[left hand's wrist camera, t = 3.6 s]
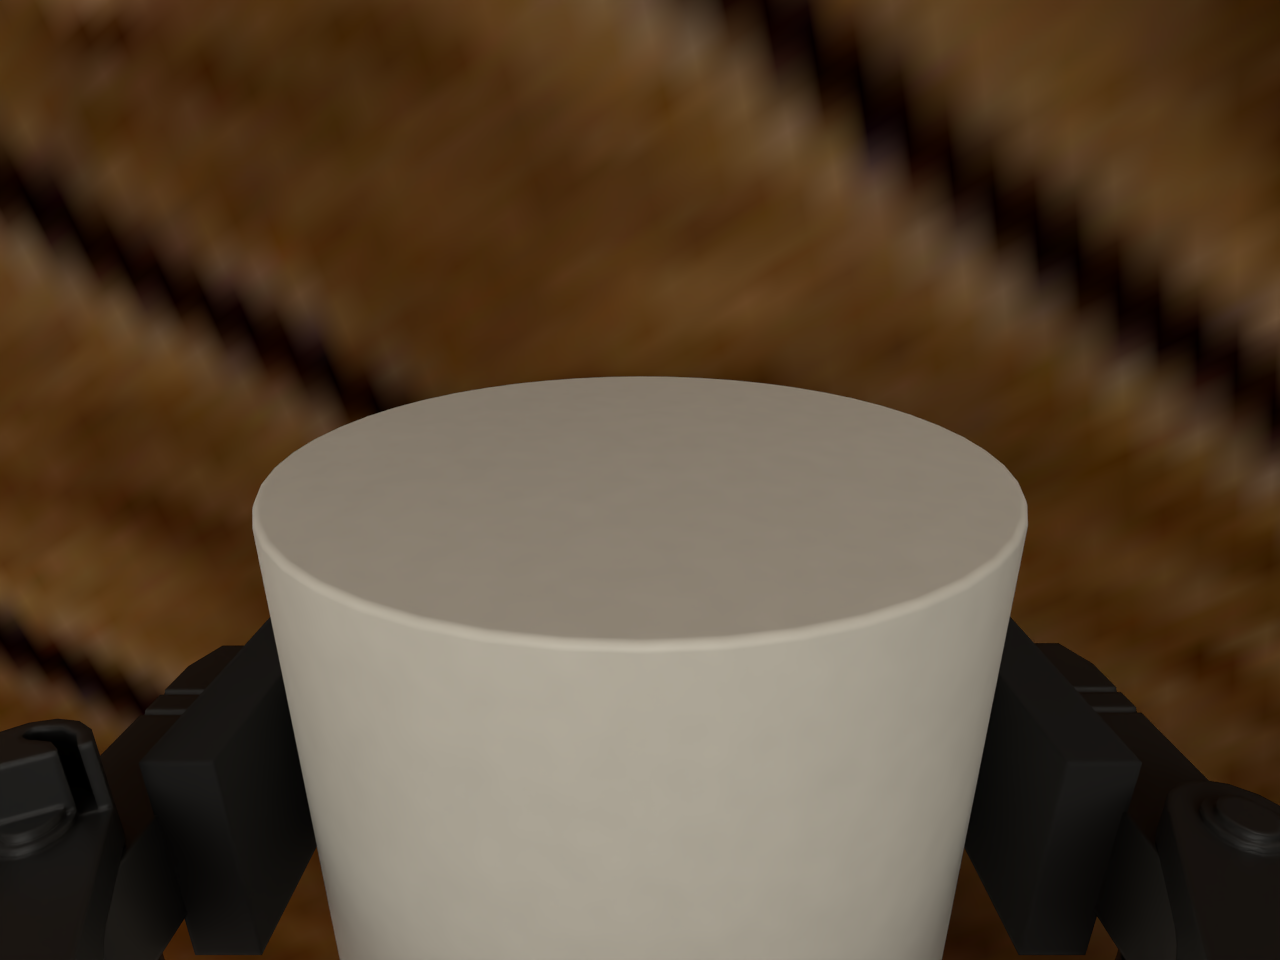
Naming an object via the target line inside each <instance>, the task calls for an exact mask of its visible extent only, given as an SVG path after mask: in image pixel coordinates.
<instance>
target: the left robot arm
mask: <svg viewBox="0 0 1280 960" xmlns="http://www.w3.org/2000/svg"><path fill="white" fill-rule="evenodd" d="M316 847H317V844H316V839H315V834H314V829H313V824H312V819H311V814H310V809H309V804H308V799H307V794H306V789H305V785H304V780H303V775H302V770H301V765H300V760H299V755H298V750H297V745H296V740H295V735H294V730H293V725H292V720H291V715H290V711H289V706H288V701H287V696H286V691H285V686H284V681H283V676H282V671H281V666H280V661H279V656H278V651H277V646H276V641H275V637H274V632H273V627H272V622H271V617H270V618H269V619H268V620H267V621H266V622H265V623H264V625H263V626H262V627H261V628H260V629H259V630H258V631H257V632H256V633H255V635H254V636H253V637H252V638H251V639H250V640H249V641H248V642H247V643H246V644H245V646H221V647H220V648H218V649H216V650H215V651H213V652H211V653H210V654H208V655H206V656H205V657H203V658H201V659H200V660H198V661H196V662H195V663H193V664H191V665H190V666H188V667H187V668H186V669H185V670H184V671H183V672H182V673H181V674H180V675H179V676H178V677H177V678H176V679H175V680H174V681H173V682H172V684H171V685H170V686H169V687H168V688H167V689H166V690H165V694H164V695H160V696H159V697H158V698H157V699H156V700H155V701H154V702H153V703H152V704H151V705H150V706H149V707H148V708H147V709H146V710H145V715H140V716H139V717H138V718H137V719H136V720H135V721H134V722H133V723H132V724H131V725H130V726H129V727H128V728H127V729H126V730H125V731H124V732H123V733H122V734H121V735H120V736H119V737H118V738H117V739H116V740H115V741H114V742H113V743H112V744H111V745H110V746H109V747H108V748H107V749H106V750H105V751H104V753H103V754H102V755H101V756H100V754H99V751H98V748H97V745H96V742H95V739H94V736H93V732H92V729H90V728H89V727H87V726H86V725H84V724H83V723H81V722H80V721H74V720H65V719H53V720H46V721H38V722H31V723H27V724H24V725H21V726H17V727H14V728H11V729H8V730H5V731H1V732H0V960H165V959H164V956H163V951H164V949H165V948H166V946H167V945H168V943H169V942H170V940H171V938H172V937H173V935H174V934H175V932H176V931H177V929H178V928H179V926H180V924H181V923H182V921H183V920H184V918H185V921H186V925H187V928H188V932H189V935H190V938H191V942H192V945H193V949H194V952H195V955H262V953H263V951H264V949H265V947H266V945H267V943H268V941H269V939H270V937H271V936H272V934H273V932H274V930H275V928H276V926H277V924H278V922H279V920H280V918H281V916H282V914H283V912H284V910H285V908H286V906H287V904H288V902H289V900H290V898H291V896H292V894H293V892H294V890H295V888H296V886H297V884H298V882H299V880H300V878H301V876H302V874H303V872H304V870H305V868H306V866H307V864H308V862H309V860H310V858H311V857H312V855H313V853H314V851H315V849H316ZM964 848H965V850H966V852H967V854H968V856H969V857H970V859H971V861H972V863H973V865H974V867H975V869H976V871H977V873H978V875H979V877H980V879H981V881H982V883H983V885H984V887H985V889H986V891H987V893H988V895H989V897H990V899H991V901H992V903H993V905H994V907H995V909H996V911H997V913H998V915H999V917H1000V919H1001V921H1002V923H1003V925H1004V927H1005V929H1006V931H1007V933H1008V934H1009V936H1010V938H1011V940H1012V942H1013V944H1014V946H1015V948H1016V950H1017V952H1018V954H1019V955H1085V954H1086V951H1087V947H1088V944H1089V940H1090V937H1091V934H1092V930H1093V927H1094V924H1095V920H1096V917H1098V918H1099V920H1100V921H1101V923H1102V924H1103V926H1104V927H1105V929H1106V931H1107V932H1108V934H1109V935H1110V937H1111V938H1112V940H1113V941H1114V943H1115V944H1116V946H1117V948H1118V949H1119V950H1118V953H1117V956H1116V959H1115V960H1280V806H1279V805H1277V804H1275V803H1273V802H1271V801H1270V800H1268V799H1266V798H1264V797H1262V796H1260V795H1258V794H1256V793H1253V792H1250V791H1247V790H1244V789H1241V788H1238V787H1236V786H1233V785H1230V784H1225V783H1219V782H1212V781H1209V780H1208V779H1207V778H1206V777H1205V776H1204V775H1203V774H1202V773H1201V772H1200V771H1199V770H1198V769H1197V768H1196V767H1195V766H1194V765H1193V764H1192V763H1191V762H1190V761H1189V760H1188V759H1187V758H1186V757H1185V756H1184V755H1183V754H1182V753H1181V752H1180V751H1179V750H1178V749H1177V748H1176V747H1175V746H1174V745H1173V744H1172V743H1171V742H1170V741H1169V740H1168V739H1167V738H1166V737H1165V736H1164V735H1163V734H1162V733H1161V732H1160V731H1159V730H1158V729H1157V728H1156V727H1155V726H1154V725H1153V724H1152V723H1151V722H1150V721H1149V720H1148V719H1147V718H1146V717H1145V716H1144V715H1143V714H1142V713H1137V711H1136V707H1135V706H1134V705H1133V704H1132V703H1131V702H1130V701H1129V700H1128V699H1127V698H1126V697H1125V696H1124V695H1123V694H1122V693H1121V692H1117V691H1116V687H1115V686H1114V685H1113V684H1112V683H1111V682H1110V681H1109V680H1108V679H1107V678H1106V677H1105V676H1104V675H1103V674H1102V673H1101V672H1100V671H1099V670H1098V669H1097V668H1096V667H1095V666H1094V665H1093V664H1092V663H1091V662H1089V661H1087V660H1086V659H1084V658H1082V657H1081V656H1079V655H1077V654H1075V653H1074V652H1072V651H1070V650H1069V649H1067V648H1065V647H1064V646H1062V645H1060V644H1059V643H1033V642H1032V641H1031V639H1030V638H1029V637H1028V636H1027V635H1026V634H1025V633H1024V632H1023V631H1022V629H1021V628H1020V627H1019V626H1018V625H1017V624H1016V623H1015V622H1014V621H1013V620H1012V618H1011V617H1010V618H1009V623H1008V628H1007V633H1006V638H1005V643H1004V648H1003V653H1002V658H1001V663H1000V668H999V673H998V678H997V683H996V689H995V694H994V699H993V704H992V709H991V714H990V719H989V724H988V729H987V734H986V739H985V744H984V749H983V754H982V759H981V764H980V769H979V774H978V779H977V784H976V789H975V794H974V799H973V805H972V810H971V815H970V820H969V825H968V830H967V835H966V840H965V845H964Z"/></svg>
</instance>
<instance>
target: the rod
mask: <svg viewBox="0 0 1280 960" xmlns="http://www.w3.org/2000/svg"><path fill="white" fill-rule="evenodd" d="M252 513H253V533H254V538H255V543H256V548H257V553H258V558H259V563H260V567H261V572H262V577H263V582H264V587H265V592H266V597H267V602H268V607H269V612H270V617H271V622H272V627H273V632H274V637H275V641H276V646H277V651H278V656H279V661H280V666H281V671H282V676H283V681H284V686H285V691H286V696H287V701H288V706H289V711H290V715H291V720H292V725H293V730H294V735H295V740H296V745H297V750H298V755H299V760H300V765H301V770H302V775H303V780H304V785H305V789H306V794H307V799H308V804H309V809H310V814H311V819H312V824H313V829H314V834H315V839H316V844H317V849H318V854H319V859H320V863H321V868H322V873H323V878H324V883H325V888H326V893H327V898H328V903H329V908H330V913H331V918H332V923H333V928H334V933H335V937H336V942H337V947H338V952H339V957H340V960H942V956H943V951H944V946H945V941H946V936H947V931H948V926H949V921H950V915H951V910H952V905H953V900H954V895H955V890H956V885H957V880H958V875H959V870H960V865H961V860H962V855H963V850H964V845H965V840H966V835H967V830H968V825H969V820H970V815H971V810H972V805H973V799H974V794H975V789H976V784H977V779H978V774H979V769H980V764H981V759H982V754H983V749H984V744H985V739H986V734H987V729H988V724H989V719H990V714H991V709H992V704H993V699H994V694H995V689H996V683H997V678H998V673H999V668H1000V663H1001V658H1002V653H1003V648H1004V643H1005V638H1006V633H1007V628H1008V623H1009V618H1010V613H1011V608H1012V603H1013V598H1014V593H1015V588H1016V583H1017V578H1018V572H1019V567H1020V562H1021V557H1022V552H1023V547H1024V542H1025V537H1026V532H1027V527H1028V513H1027V503H1026V500H1025V497H1024V495H1023V493H1022V490H1021V488H1020V486H1019V483H1018V481H1017V480H1016V479H1015V478H1014V477H1013V475H1012V474H1011V473H1010V472H1009V471H1008V469H1007V468H1006V467H1005V466H1004V465H1003V464H1002V463H1001V462H999V461H998V460H997V459H996V458H994V457H993V456H992V455H991V454H989V453H988V452H987V451H986V450H984V449H982V448H981V447H979V446H977V445H976V444H974V443H972V442H971V441H969V440H967V439H966V438H964V437H962V436H960V435H958V434H956V433H953V432H951V431H949V430H947V429H945V428H943V427H941V426H939V425H936V424H933V423H931V422H928V421H926V420H923V419H920V418H918V417H915V416H912V415H910V414H907V413H903V412H900V411H897V410H894V409H890V408H887V407H884V406H880V405H877V404H873V403H869V402H865V401H861V400H857V399H853V398H848V397H843V396H838V395H834V394H829V393H824V392H818V391H812V390H806V389H800V388H794V387H787V386H779V385H772V384H764V383H755V382H744V381H734V380H721V379H706V378H685V377H599V378H577V379H563V380H550V381H539V382H530V383H520V384H512V385H504V386H497V387H490V388H483V389H477V390H472V391H466V392H460V393H454V394H450V395H445V396H440V397H436V398H431V399H426V400H422V401H418V402H415V403H411V404H407V405H403V406H399V407H396V408H393V409H389V410H386V411H383V412H380V413H377V414H374V415H371V416H368V417H365V418H362V419H360V420H357V421H355V422H352V423H350V424H347V425H345V426H342V427H339V428H337V429H335V430H333V431H331V432H329V433H327V434H325V435H323V436H321V437H319V438H317V439H315V440H313V441H311V442H310V443H308V444H306V445H305V446H303V447H302V448H300V449H298V450H297V451H295V452H293V453H292V454H291V455H290V456H288V457H287V458H286V459H285V460H284V461H282V462H281V463H280V464H279V465H278V466H276V467H275V468H274V469H273V471H272V472H271V473H270V474H269V476H268V477H267V478H266V479H265V481H264V482H263V483H262V485H261V487H260V489H259V492H258V494H257V497H256V499H255V502H254V505H253V508H252Z"/></svg>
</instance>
